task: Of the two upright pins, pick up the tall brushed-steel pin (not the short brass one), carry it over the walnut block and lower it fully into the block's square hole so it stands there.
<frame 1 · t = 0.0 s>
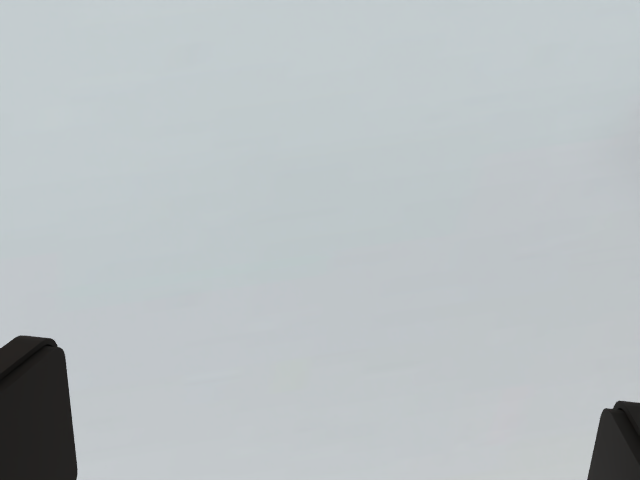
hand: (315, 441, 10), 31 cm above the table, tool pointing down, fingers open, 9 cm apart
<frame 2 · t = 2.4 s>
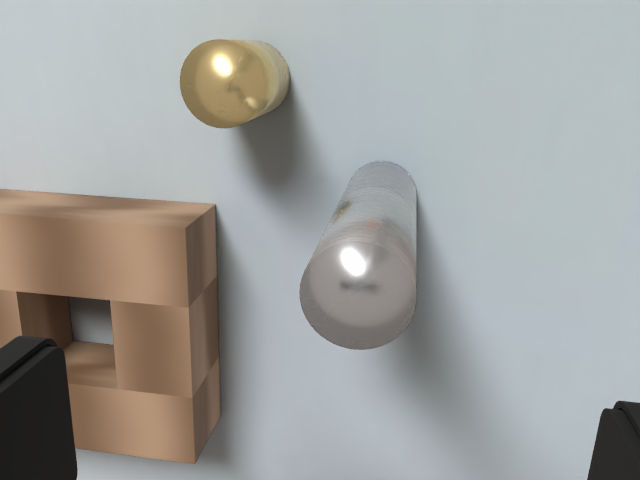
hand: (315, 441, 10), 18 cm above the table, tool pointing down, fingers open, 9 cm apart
socket block: (109, 306, 32), on the table
long pin: (381, 195, 28), on the table
short pin: (255, 78, 27), on the table
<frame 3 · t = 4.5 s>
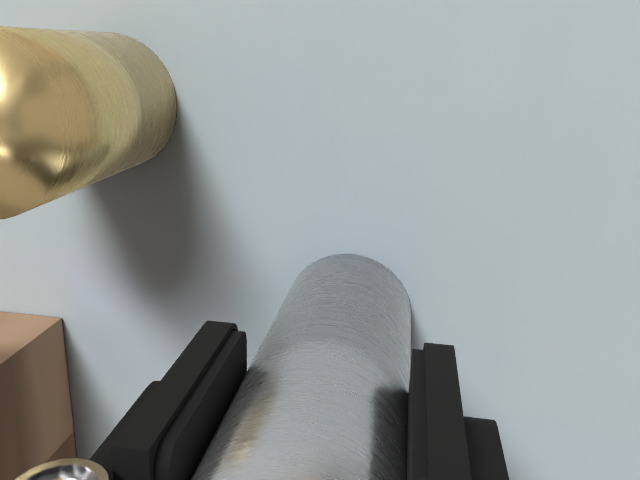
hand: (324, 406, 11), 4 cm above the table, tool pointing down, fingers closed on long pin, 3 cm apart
long pin: (348, 313, 15), on the table, touching gripper
short pin: (114, 101, 15), on the table
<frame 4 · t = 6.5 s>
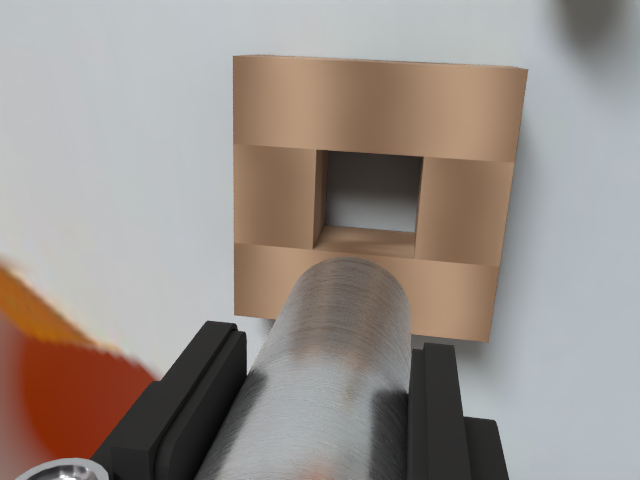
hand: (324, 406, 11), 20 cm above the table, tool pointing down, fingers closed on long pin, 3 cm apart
socket block: (372, 185, 30), on the table
long pin: (348, 315, 15), point 15 cm above the table, touching gripper
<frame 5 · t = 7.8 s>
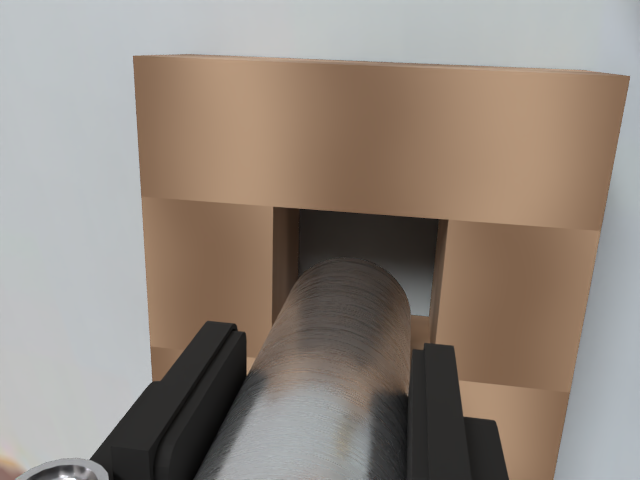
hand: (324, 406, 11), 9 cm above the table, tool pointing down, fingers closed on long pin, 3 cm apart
socket block: (366, 247, 20), on the table
long pin: (347, 316, 15), point 5 cm above the table, touching gripper
when the fingers open (5 cm above the table, at t = 8.9 s): long pin stays where it is, resting in socket block.
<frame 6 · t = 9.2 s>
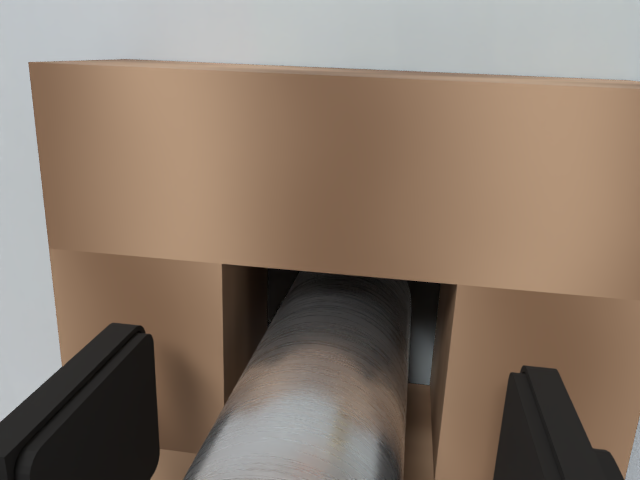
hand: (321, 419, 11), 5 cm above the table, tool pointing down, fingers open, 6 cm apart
socket block: (351, 301, 16), on the table
long pin: (351, 301, 16), resting in socket block
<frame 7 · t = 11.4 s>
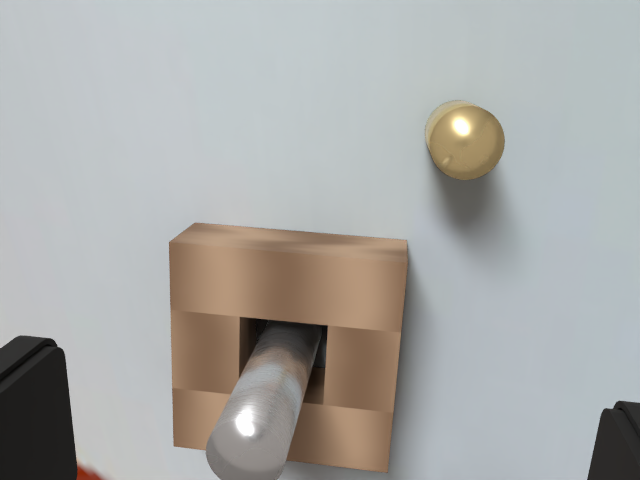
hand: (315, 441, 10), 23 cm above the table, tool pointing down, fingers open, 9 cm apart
socket block: (294, 329, 35), on the table
long pin: (294, 329, 35), resting in socket block
short pin: (456, 132, 31), on the table
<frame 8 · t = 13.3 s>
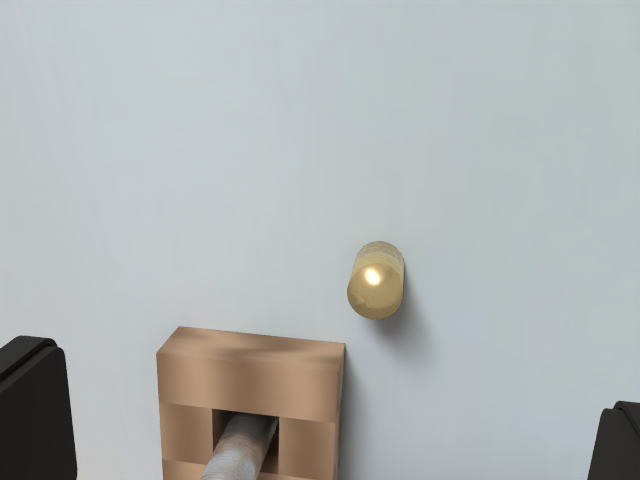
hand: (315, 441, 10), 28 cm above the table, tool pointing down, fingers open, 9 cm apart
socket block: (259, 408, 44), on the table
long pin: (260, 408, 44), resting in socket block
short pin: (379, 264, 39), on the table
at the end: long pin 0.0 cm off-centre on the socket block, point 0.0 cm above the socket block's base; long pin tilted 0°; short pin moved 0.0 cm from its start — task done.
